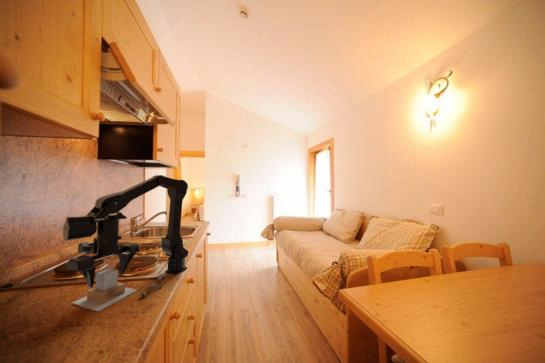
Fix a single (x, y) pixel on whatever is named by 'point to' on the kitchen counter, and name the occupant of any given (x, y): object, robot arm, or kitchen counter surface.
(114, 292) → the plinth
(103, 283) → the grey block
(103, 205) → the robot arm
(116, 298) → the build mat
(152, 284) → the wooden post with brackets
